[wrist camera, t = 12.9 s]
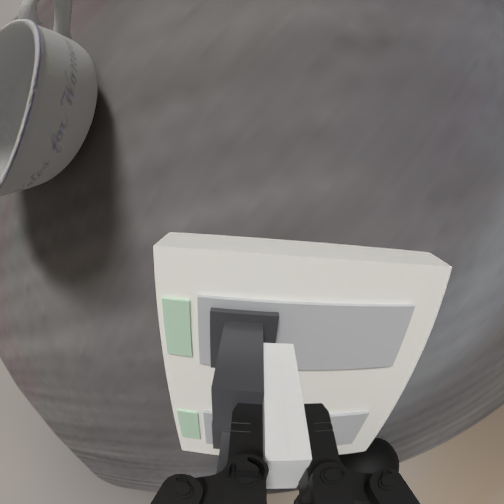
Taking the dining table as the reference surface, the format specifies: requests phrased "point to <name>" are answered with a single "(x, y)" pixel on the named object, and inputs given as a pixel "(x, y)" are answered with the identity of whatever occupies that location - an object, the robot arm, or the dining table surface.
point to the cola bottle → (372, 458)
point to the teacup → (42, 97)
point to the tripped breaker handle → (238, 359)
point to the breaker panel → (299, 322)
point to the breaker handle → (221, 446)
